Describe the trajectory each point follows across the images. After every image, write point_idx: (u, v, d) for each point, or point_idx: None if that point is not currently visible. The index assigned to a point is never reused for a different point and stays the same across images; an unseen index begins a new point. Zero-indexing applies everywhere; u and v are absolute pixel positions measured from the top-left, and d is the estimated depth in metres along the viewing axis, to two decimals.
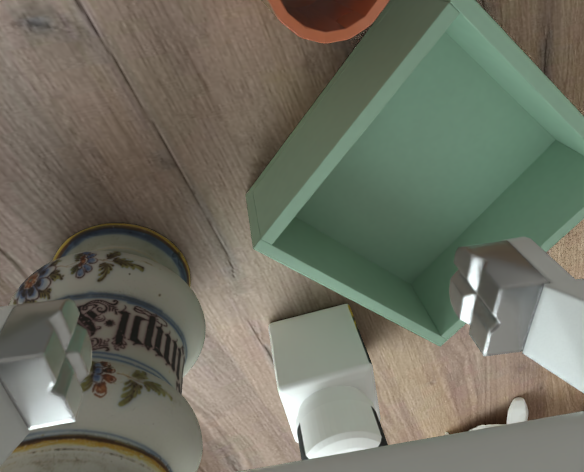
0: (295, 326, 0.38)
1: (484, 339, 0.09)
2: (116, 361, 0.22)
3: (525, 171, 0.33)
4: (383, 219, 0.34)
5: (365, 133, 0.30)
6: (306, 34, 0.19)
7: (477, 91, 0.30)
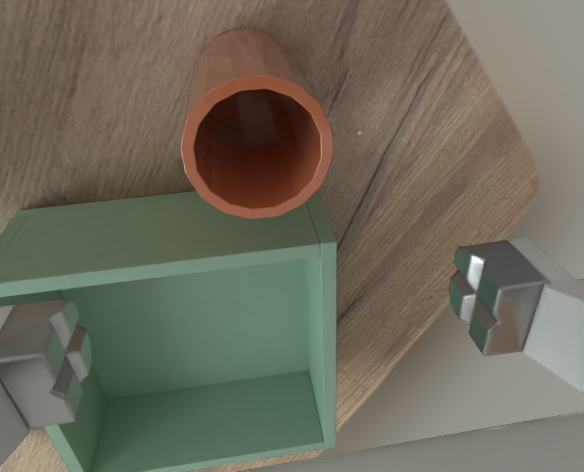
0: None
1: (484, 339, 0.09)
2: None
3: (271, 377, 0.34)
4: (132, 331, 0.30)
5: None
6: (193, 177, 0.16)
7: (288, 296, 0.31)
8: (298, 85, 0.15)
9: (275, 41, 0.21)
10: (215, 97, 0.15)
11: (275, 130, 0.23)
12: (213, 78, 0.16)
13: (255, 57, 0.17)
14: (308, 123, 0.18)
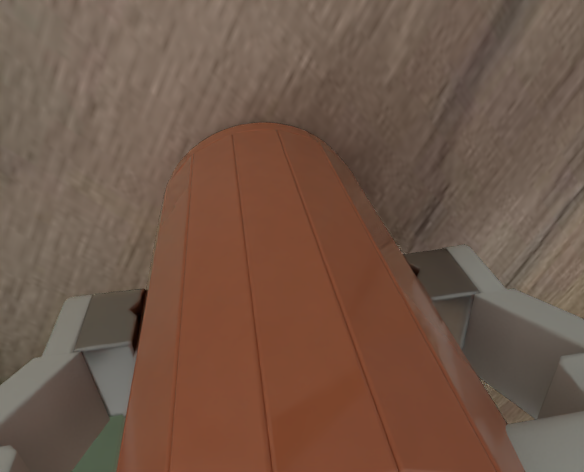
0: None
1: None
2: None
3: None
4: None
5: None
6: None
7: None
8: None
9: (326, 152, 0.11)
10: None
11: None
12: (193, 399, 0.05)
13: (316, 284, 0.06)
14: None
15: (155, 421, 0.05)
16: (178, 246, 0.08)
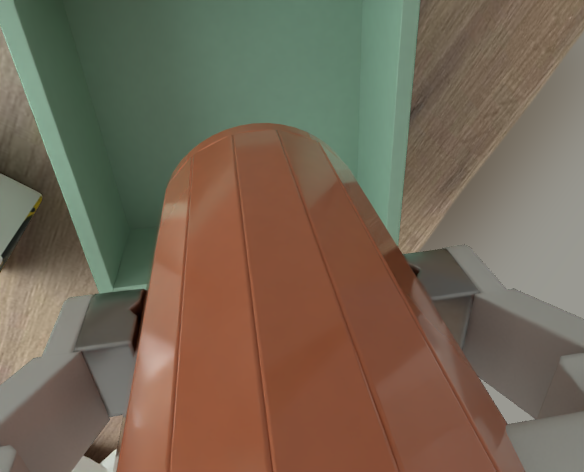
0: None
1: None
2: None
3: None
4: (161, 130, 0.26)
5: (221, 17, 0.24)
6: None
7: (340, 90, 0.27)
8: None
9: (327, 153, 0.11)
10: None
11: None
12: (194, 401, 0.05)
13: (316, 285, 0.06)
14: None
15: (155, 423, 0.05)
16: (178, 247, 0.08)
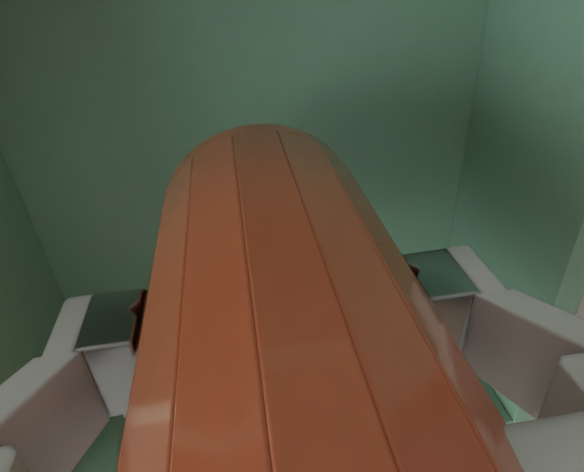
0: None
1: None
2: None
3: None
4: (133, 207, 0.16)
5: (237, 16, 0.13)
6: None
7: (434, 139, 0.16)
8: None
9: (327, 154, 0.11)
10: None
11: None
12: (193, 402, 0.05)
13: (316, 286, 0.06)
14: None
15: (155, 424, 0.05)
16: (178, 248, 0.08)
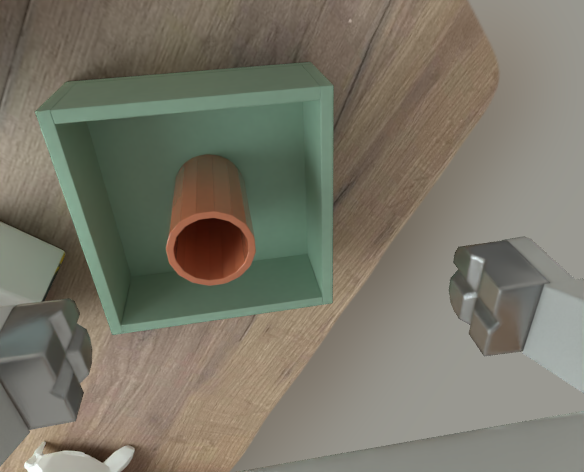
0: None
1: (483, 339, 0.09)
2: None
3: (275, 258, 0.40)
4: (156, 205, 0.35)
5: (200, 129, 0.33)
6: (173, 264, 0.28)
7: (290, 175, 0.36)
8: (232, 215, 0.27)
9: (227, 164, 0.33)
10: (185, 223, 0.26)
11: None
12: (184, 208, 0.27)
13: (210, 192, 0.28)
14: None
15: (177, 214, 0.28)
16: (181, 188, 0.30)
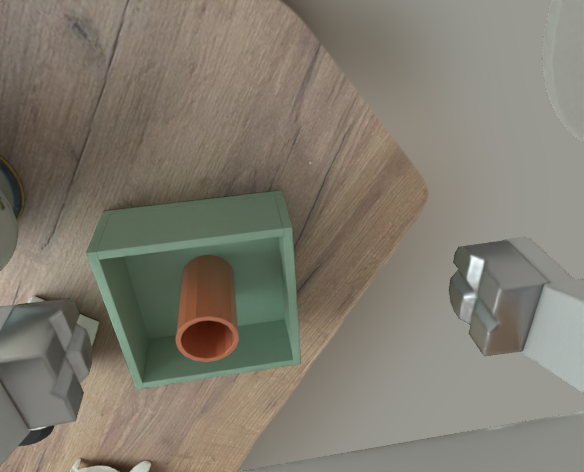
0: None
1: (483, 339, 0.09)
2: None
3: (259, 323, 0.51)
4: (168, 290, 0.47)
5: None
6: (180, 349, 0.39)
7: (269, 266, 0.47)
8: (221, 318, 0.38)
9: (220, 264, 0.45)
10: (189, 324, 0.38)
11: None
12: (188, 311, 0.39)
13: (206, 296, 0.40)
14: None
15: (183, 314, 0.39)
16: (186, 289, 0.42)
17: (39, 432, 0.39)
